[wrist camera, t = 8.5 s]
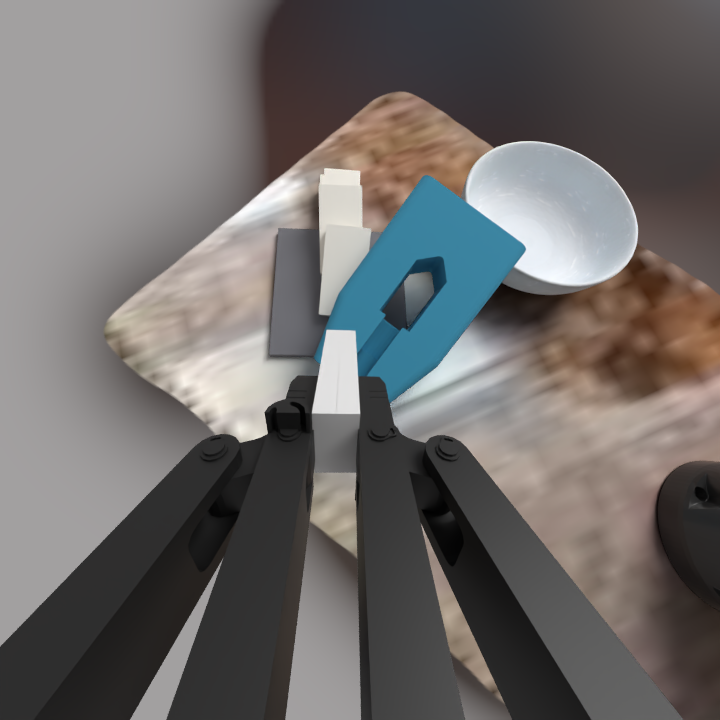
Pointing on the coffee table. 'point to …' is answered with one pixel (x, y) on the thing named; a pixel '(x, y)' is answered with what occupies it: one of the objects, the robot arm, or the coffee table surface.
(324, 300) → the domino
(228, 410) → the coffee table surface
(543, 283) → the serving bowl
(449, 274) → the block
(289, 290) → the domino mat
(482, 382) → the coffee table surface
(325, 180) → the domino
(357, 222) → the domino
